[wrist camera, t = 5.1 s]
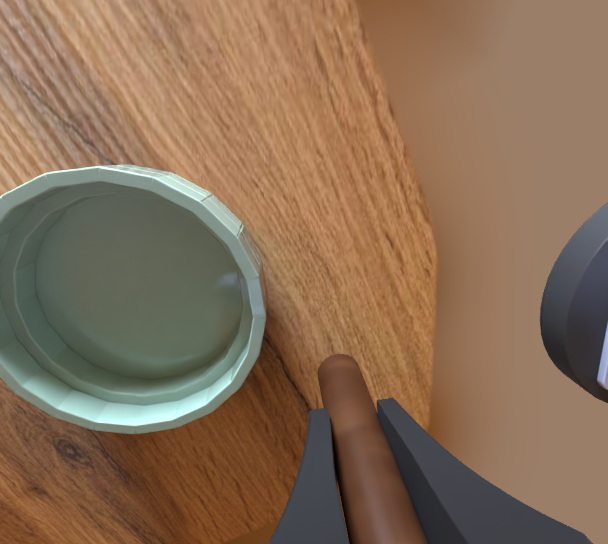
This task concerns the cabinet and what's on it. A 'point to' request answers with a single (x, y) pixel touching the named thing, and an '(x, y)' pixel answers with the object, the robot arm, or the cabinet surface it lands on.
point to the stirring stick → (365, 461)
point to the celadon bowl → (126, 298)
